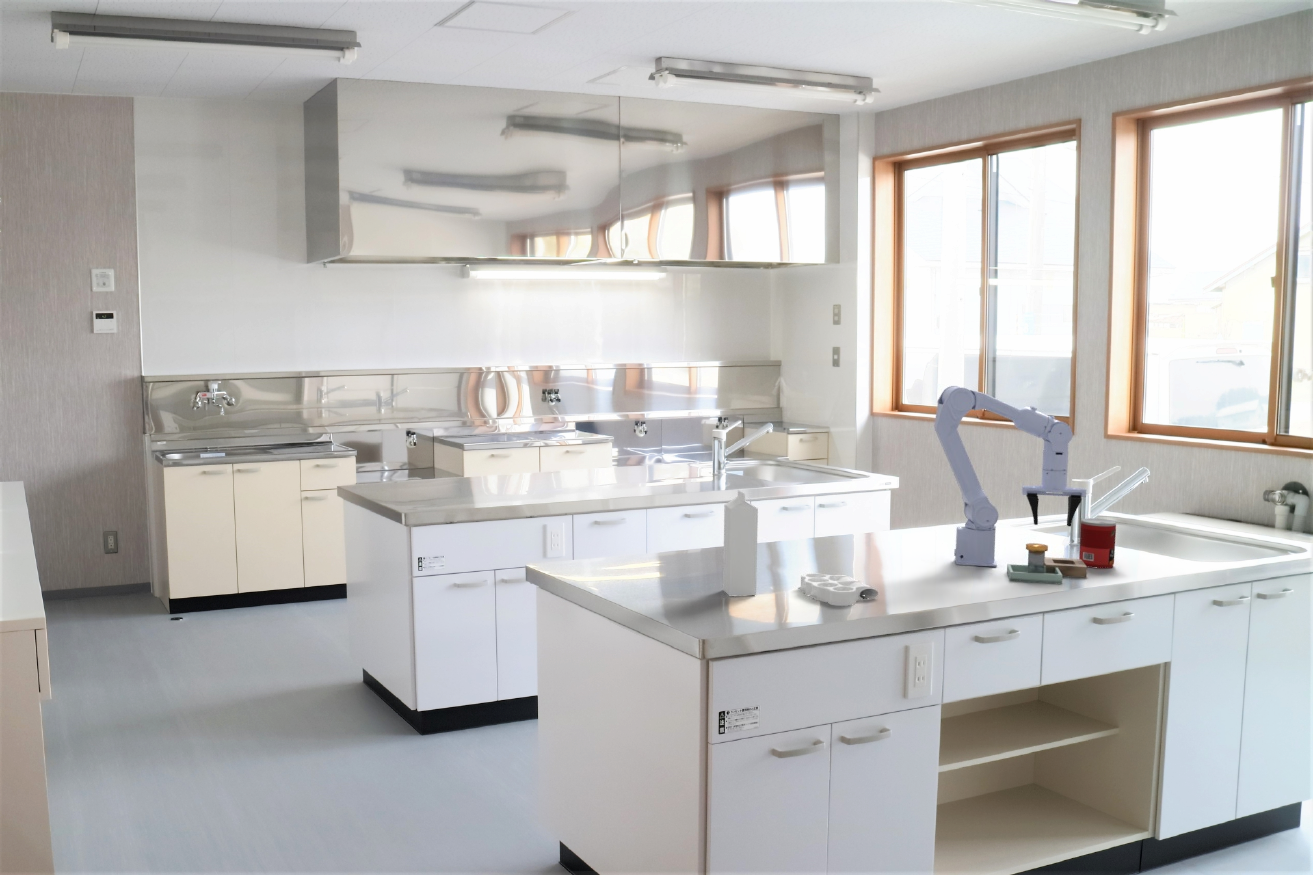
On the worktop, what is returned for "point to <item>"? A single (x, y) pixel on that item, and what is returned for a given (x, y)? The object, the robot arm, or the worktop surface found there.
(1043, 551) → the pin
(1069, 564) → the socket block
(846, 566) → the worktop surface
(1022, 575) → the tray
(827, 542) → the worktop surface
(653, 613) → the worktop surface
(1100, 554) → the canned food
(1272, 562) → the worktop surface
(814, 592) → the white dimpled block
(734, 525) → the milk
